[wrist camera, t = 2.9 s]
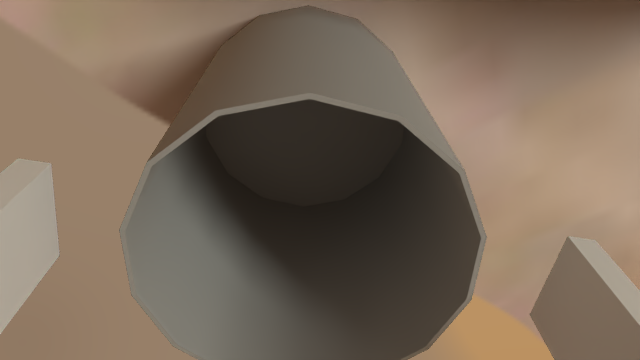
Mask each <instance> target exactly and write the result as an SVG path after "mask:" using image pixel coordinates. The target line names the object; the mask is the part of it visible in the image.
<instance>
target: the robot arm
mask: <svg viewBox="0 0 640 360" xmlns="http://www.w3.org/2000/svg"><path fill="white" fill-rule="evenodd" d="M59 256H60V252H59V241H58V231H57V219H56V208H55V198H54V187H53V176H52V165H51V163H48V162H41V161H33V160H27V159H20V158H18V159H17V160H15V161H14V162H13V163H12V164H10V165H9V166H8V167H7V168H5V169H4V170H3V171H2V172H0V334H1V333H2V331H3V330H4V329H5V327H6V326H7V325H8V324H9V322H10V321H11V320H12V318H13V317H14V316H15V314H16V313H17V312H18V310H19V309H20V307H21V306H22V305H23V304H24V302H25V301H26V300H27V298H28V297H29V296H30V294H31V293H32V292H33V290H34V289H35V288H36V286H37V285H38V284H39V282H40V281H41V280H42V278H43V277H44V276H45V275H46V273H47V272H48V270H49V269H50V268H51V267H52V265H53V264H54V263H55V261H56V260H57V259H58V257H59ZM530 316H531V318H532V320H533V321H534V323H535V325H536V327H537V329H538V331H539V332H540V334H541V336H542V338H543V340H544V341H545V343H546V345H547V347H548V349H549V351H550V352H551V354H552V356H553V358H554V359H555V360H640V290H639V289H638V288H637V287H636V286H635V285H634V284H633V282H632V281H631V280H630V279H629V278H628V277H627V276H626V274H625V273H624V272H623V271H622V270H621V269H620V268H619V267H618V265H617V264H616V263H615V262H614V261H613V260H612V259H611V257H610V256H609V255H608V254H607V253H606V252H605V251H604V249H603V248H602V247H601V246H600V245H599V244H598V243H597V242H596V240H591V239H584V238H577V237H570V236H568V237H567V239H566V241H565V243H564V245H563V247H562V249H561V251H560V253H559V255H558V258H557V260H556V262H555V264H554V266H553V268H552V270H551V272H550V274H549V276H548V278H547V280H546V282H545V284H544V286H543V288H542V290H541V292H540V294H539V297H538V299H537V301H536V303H535V305H534V307H533V309H532V311H531V313H530Z"/></svg>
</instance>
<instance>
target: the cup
mask: <svg viewBox="0 0 640 360" xmlns="http://www.w3.org/2000/svg"><path fill="white" fill-rule="evenodd" d="M119 231H120V237H121V242H122V248H123V253H124V258H125V263H126V269H127V274H128V279H129V285H130V290H131V295H132V297H133V298H134V299H135V300H136V301H137V303H138V304H139V305H140V306H141V308H142V309H143V310H144V311H145V312H146V314H147V315H148V316H149V317H150V318H151V320H152V321H153V322H154V323H155V325H156V326H157V327H158V328H159V330H160V331H161V332H162V333H163V334H164V336H165V337H166V338H167V339H168V341H169V342H170V343H171V344H172V345H173V346H174V347H175V348H177V349H179V350H181V351H183V352H185V353H187V354H189V355H190V356H192V357H194V358H196V359H198V360H408V359H410V358H412V357H414V356H416V355H417V354H419V353H421V352H424V351H425V350H427V349H429V348H430V347H431V346H432V344H433V343H434V342H435V341H436V340H437V338H439V336H440V335H441V334H442V333H443V332H444V331H445V330H446V328H447V327H448V326H449V325H450V324H451V323H452V322H453V320H454V319H455V318H456V317H457V316H458V315H459V313H460V312H461V311H462V310H463V309H464V308H465V307H466V306H467V304H468V303H469V302H470V301H471V300H472V295H473V291H474V287H475V283H476V279H477V275H478V271H479V267H480V263H481V259H482V254H483V250H484V246H485V242H486V238H487V236H486V233H485V230H484V227H483V224H482V221H481V218H480V215H479V212H478V209H477V206H476V203H475V200H474V197H473V194H472V191H471V188H470V185H469V182H468V179H467V176H466V173H465V170H464V168H463V167H462V165H461V163H460V162H459V160H458V158H457V157H456V155H455V154H454V152H453V150H452V149H451V147H450V145H449V144H448V142H447V140H446V139H445V137H444V135H443V134H442V132H441V131H440V129H439V127H438V126H437V124H436V122H435V121H434V119H433V117H432V116H431V114H430V112H429V111H428V109H427V108H426V106H425V104H424V103H423V101H422V99H421V98H420V96H419V94H418V93H417V91H416V89H415V88H414V86H413V85H412V83H411V81H410V80H409V78H408V76H407V75H406V73H405V71H404V70H403V68H402V66H401V65H400V63H399V62H398V60H397V58H396V57H395V55H394V53H393V52H392V51H391V50H390V49H389V48H388V47H387V46H386V45H385V44H384V43H383V42H382V41H380V40H379V39H378V38H377V37H376V36H375V35H374V34H373V33H372V32H371V31H370V30H368V29H367V28H366V27H365V26H364V25H363V24H362V23H361V22H360V21H359V20H358V19H355V18H352V17H348V16H344V15H341V14H337V13H334V12H330V11H326V10H323V9H319V8H316V7H312V6H304V7H299V8H294V9H289V10H284V11H279V12H274V13H269V14H264V15H259V16H258V17H257V18H255V19H254V20H253V21H252V22H250V23H249V24H248V25H247V26H245V27H244V28H243V29H242V30H240V31H239V32H238V33H237V34H235V35H234V36H233V37H232V38H230V39H229V40H228V41H227V42H225V43H224V44H223V45H222V46H221V47H220V49H219V50H218V52H217V53H216V55H215V56H214V58H213V60H212V61H211V63H210V64H209V66H208V67H207V69H206V71H205V72H204V74H203V75H202V77H201V78H200V80H199V81H198V83H197V85H196V86H195V88H194V89H193V91H192V92H191V94H190V96H189V97H188V99H187V100H186V102H185V103H184V105H183V106H182V108H181V110H180V111H179V113H178V114H177V116H176V117H175V119H174V121H173V122H172V124H171V125H170V127H169V128H168V130H167V132H166V133H165V135H164V136H163V138H162V140H161V141H160V142H159V144H158V146H157V147H156V149H155V150H154V152H153V153H152V155H151V157H150V158H149V160H148V161H147V163H146V166H145V168H144V170H143V173H142V175H141V178H140V180H139V183H138V185H137V188H136V190H135V193H134V195H133V198H132V200H131V202H130V205H129V207H128V210H127V212H126V215H125V217H124V220H123V222H122V224H121V227H120V230H119Z"/></svg>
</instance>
